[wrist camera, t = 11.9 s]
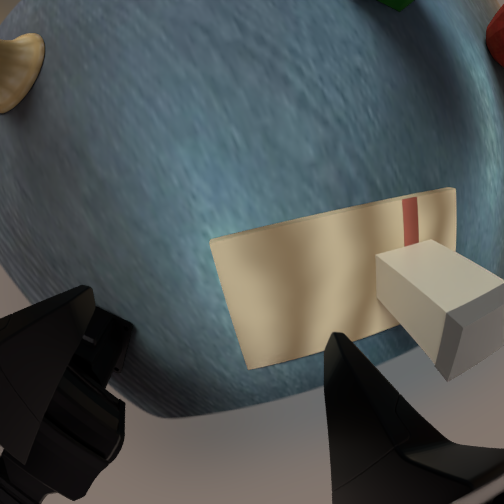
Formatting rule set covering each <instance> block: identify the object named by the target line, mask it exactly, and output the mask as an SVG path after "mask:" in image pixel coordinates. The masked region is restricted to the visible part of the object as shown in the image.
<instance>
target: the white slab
mask: <svg viewBox="0 0 504 504" xmlns="http://www.w3.org/2000/svg"><path fill="white" fill-rule="evenodd" d="M375 258H376V291H377V298H378V300H379V301H380V302H381V303H382V304H383V305H384V306H385V307H386V308H387V309H388V311H389V312H390V313H391V314H392V315H393V316H394V317H395V318H396V320H397V321H398V322H399V323H400V324H401V325H402V326H403V327H404V329H405V330H406V331H407V332H408V333H409V334H410V336H411V337H412V338H413V339H414V340H415V341H416V343H417V344H418V345H419V346H420V347H421V348H422V350H423V351H424V352H425V353H426V354H427V355H428V357H429V358H430V359H431V360H432V362H433V363H434V364H435V367H436V368H437V370H438V371H439V372H440V373H441V375H442V376H443V377H444V378H445V380H446V381H447V382H448V381H450V380H452V379H454V378H455V377H457V376H459V375H461V374H462V373H464V372H465V371H467V370H469V369H470V368H472V367H473V366H475V365H477V364H478V363H480V362H481V361H483V360H484V359H486V358H487V357H488V356H490V355H492V354H493V353H494V352H496V351H497V350H499V349H500V348H501V347H503V346H504V280H503V279H501V278H499V277H498V276H496V275H494V274H493V273H491V272H490V271H488V270H486V269H485V268H483V267H481V266H479V265H478V264H476V263H474V262H472V261H471V260H469V259H467V258H465V257H464V256H462V255H460V254H458V253H456V252H455V251H453V250H451V249H449V248H447V247H445V246H443V245H441V244H439V243H438V242H436V241H434V240H432V239H430V240H427V241H423V242H420V243H416V244H413V245H409V246H405V247H402V248H398V249H395V250H391V251H387V252H384V253H380V254H376V255H375Z"/></svg>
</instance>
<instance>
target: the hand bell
mask: <svg viewBox="0 0 504 504" xmlns="http://www.w3.org/2000/svg"><path fill="white" fill-rule="evenodd" d="M44 54H45V45H44V41H43V39H42V37H41V36H40V35H38V34H35V33H30V34H25V35H22V36H20V37H18V38H16V39H14V40H0V113H5V112H7V111H9V110H11V109H12V108H14V107H15V106H16V105H17V104H18V103H19V102H20V101H21V100H22V99H23V98H24V97H25V96H26V94H27V93H28V91H29V90H30V88H31V87H32V85H33V84H34V82H35V80H36V78H37V76H38V74H39V71H40V68H41V66H42V63H43V59H44Z"/></svg>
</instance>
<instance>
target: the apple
mask: <svg viewBox="0 0 504 504" xmlns="http://www.w3.org/2000/svg"><path fill="white" fill-rule="evenodd" d="M486 43H487V47H488V49H489V51H490V53H491V55H492V57H493V58H494V59H495V60H496V61H497V62H498V63H499V64H500V65H501V66H503V67H504V4H503V6H502V7H501V8H500V9H499V11H498V12H497V13H496V14H495V16H494V17H493V19H492V20H491V22H490V23H489V25H488V26H487V30H486Z"/></svg>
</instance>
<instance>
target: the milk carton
mask: <svg viewBox="0 0 504 504" xmlns="http://www.w3.org/2000/svg"><path fill="white" fill-rule="evenodd" d="M377 1H379V2H381V3H384V4H386V5H387V6H389V7H391V8H393V9H395V10H397V11H399V12H400V11H402V10H403V9H404V8H405V7H407V6H408V5H409V4H411V3H412V2H413V1H414V0H377Z"/></svg>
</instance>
